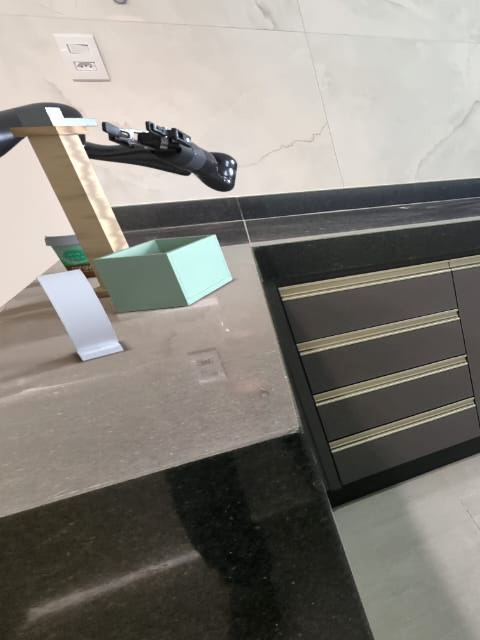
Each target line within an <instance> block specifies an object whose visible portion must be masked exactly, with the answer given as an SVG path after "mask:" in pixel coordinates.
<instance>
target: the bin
mask: <svg viewBox="0 0 480 640" xmlns="http://www.w3.org/2000/svg"><path fill="white" fill-rule="evenodd" d="M92 261H93V263H94V265H95V267H96V269H97V271H98V273H99V275H100V277H101V279H102V281H103V283H104V285H105V287H106V289H107V291H108V293H109V295H110V296H109V297H110V299H111V301H112V304H113V306H114V308H115V310H116V312H117V313H118V314H120V313H128V312H129V313H131V312H140V311H148V310H159V309H168V308H178V307H188V306H190V305H192V304H194V303H195V302H197V301H199V300H201V299H202V298H204V297H206V296H208V295H209V294H211V293H213V292H214V291H216V290H218V289H219V288H221V287H223V286H225V285H226V284H228V283H229V282H231V281H233V277H232V274H231V272H230V269H229V267H228V264H227V261H226V258H225V256H224V253H223V250H222V247H221V246H220V243H219V240H218V237H217V235H216V234H215V233H214V234H204V235H191V236H180V237H179V236H178V237H166V238H164V237H163V238H153V239H150V240H147V241H145V242H141V243H138V244H135V245H132V246H129V248H126V249H123V250H120V251H117V252H114V253H111V254H108V255H105V256H102V257H100V258H97V259H94V260H92Z"/></svg>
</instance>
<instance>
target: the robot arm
mask: <svg viewBox="0 0 480 640" xmlns="http://www.w3.org/2000/svg"><path fill="white" fill-rule="evenodd" d="M34 107H57V108H60V111H61V113H62V115H63V117H64V118H84V116H83V114H82V113H81V112H80V111H79V110H78V108H75V107H73V106H71V105H68V104H66V103H60V102H55V101H54V102H52V101H41V102H32V103H28V104H23V105H20V106H16V107H11V108H8V109H4V110H0V159H1V158H2V157H3V156H5V155H7V154H8V153H10V151H11V150H13V149H14V148H15V147H16V146H18V144H20V142H22V141H23V140H24V139H26V138H28V137H27V136H25V137H14V136H13V134H12V132H11V130H10V128H18V127H23V126H22V124H21V122H20V120H19V118H18V116H17V114H16V111H15V109H14V108H34ZM144 124H145V131H143V130H139V129H135V128H128V129H127V128H121V127H119V126H117V125H114V124H113V123H110V122H108V121H102V122H101V131H102V132H104V133H106V134H107V136H108V141H109V142H113V143H115V144H99V143H96V142H90V141H87V137H86V136H87V134H78V136H79V138H80V140H81V143H82V145H83V147H84V149H85V151H86V154H87V156H88V158H89V160H94V161H101V162H108V163H109V162H110V163H115V164H116V163H117V164H124V165H133V166H137V167H138V166H139V167H144V168H149V169H154V170H157V171H161V172H166V173H170V174H173V175H177V176H182V177H189V176H190V175H192V174H193V175H194V176H195V177H196V178H197V179H198V180H199V181H200V182H201V183H202V184H204V185H205V186H206V187H208V188H209V189H211V190H214V191H216V192H220V193H228V192H231V191H232V190H234V189H235V185H236V180H237V178H236V177H237V170H238V162H237V160H236V159H235V158H234V157H233V156H232V155H230V154H228V153H225V152H219V151H209V150H206V149H204V148H202V147H200V146H199V145H197V144H196V143H195V142H193V141H192V137H191V136H190V135H189V134H186V133H185V132H184V131H182V130H180V129H178V128H176V127H170V129H168V127H165V126H160V125H158V124H156V123H155V122H152V121H150V120H146V121H145V122H144ZM135 134H137V135H136V136H137V137H136V139H135Z"/></svg>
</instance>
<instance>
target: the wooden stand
mask: <svg viewBox="0 0 480 640" xmlns="http://www.w3.org/2000/svg"><path fill="white" fill-rule="evenodd" d="M10 130H11V132H12V134H13V136H14V137H25V136H27V137H25V138H27V139H28V142H29V143H30V145H31V147H32V150H33V151H34V154H35V156H36V158H37V160H38V162H39V164H40V166H41V168H42V170H43V172H44V174H45V176H46V178H47V180H48V182H49V184H50V186H51V188H52V191H53V192H54V194H55V197H56V199H57V200H58V202H59V205H60V207H61V208H62V211H63V212H64V215H65V216H66V219H67V221H68V223H69V225H70V227H71V229H72V231H73V233H74V235H76V237H77V239H78V241H79V243H80V245H81V247H82V249H83V251H84V253H85V255H86V257H87V259H88V261H89V263H90V265H91V267H92V269H93V271H94V273H95V276H96V277H95V278H96V280H97V281H98V284H99V286H96V287H94V288H93V290H94V292H95V294H96V296H97V297H98V299H100V298H107V297H110V295H109V293H108V291H107V289H106V287H105V285H104V283H103V281H102V279H101V277H100V275H99V273H98V271H97V269H96V267H95V265H94V263H93V261H92V260H94V259H97V258H100V257H102V256H105V255H108V254H111V253H114V252H117V251H120V250H123V249H126V248H129V247H130V246H129V243H128V242H127V239H126V238H125V235H124V233H123V231H122V228H121V226H120V224H119V222H118V220H117V217H116V216H115V213H114V211H113V209H112V206H111V204H110V202H109V200H108V198H107V195H106V193H105V192H104V189H103V187H102V185H101V182H100V180H99V178H98V175H97V174H96V172H95V169H94V167H93V164H92V162H91V161H90V160H91V159H89V158H88V156H87V154H86V151H85V149H84V147H83V145H82V143H81V140H80V138H79V136H78V134H85V135H90V132H89V130H88V128H87V127H86V126H41V127H18V128H10Z"/></svg>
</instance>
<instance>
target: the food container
mask: <svg viewBox="0 0 480 640" xmlns="http://www.w3.org/2000/svg"><path fill="white" fill-rule="evenodd" d="M44 243H45V246H46V247H51V249H52V250H53V251H54V253H55V255H56V256H57V258H58V259H59V260H60V262H61V264H62V265H63V267H64V268H65V270H66V271H72V270H78V269H80V270H81V271H82V273H83V274H84V275H85V277H86V279H88V278H89V279H90V278H96V276H95V273H94V271H93V269H92V267H91V265H90V263H89V261H88V259H87V257H86V255H85V253H84V251H83V249H82V247H81V245H80V243H79V241H78V239H77V237H76V235H75V234H68V235H55V236H48V235H47V234H45V235H44Z"/></svg>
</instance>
